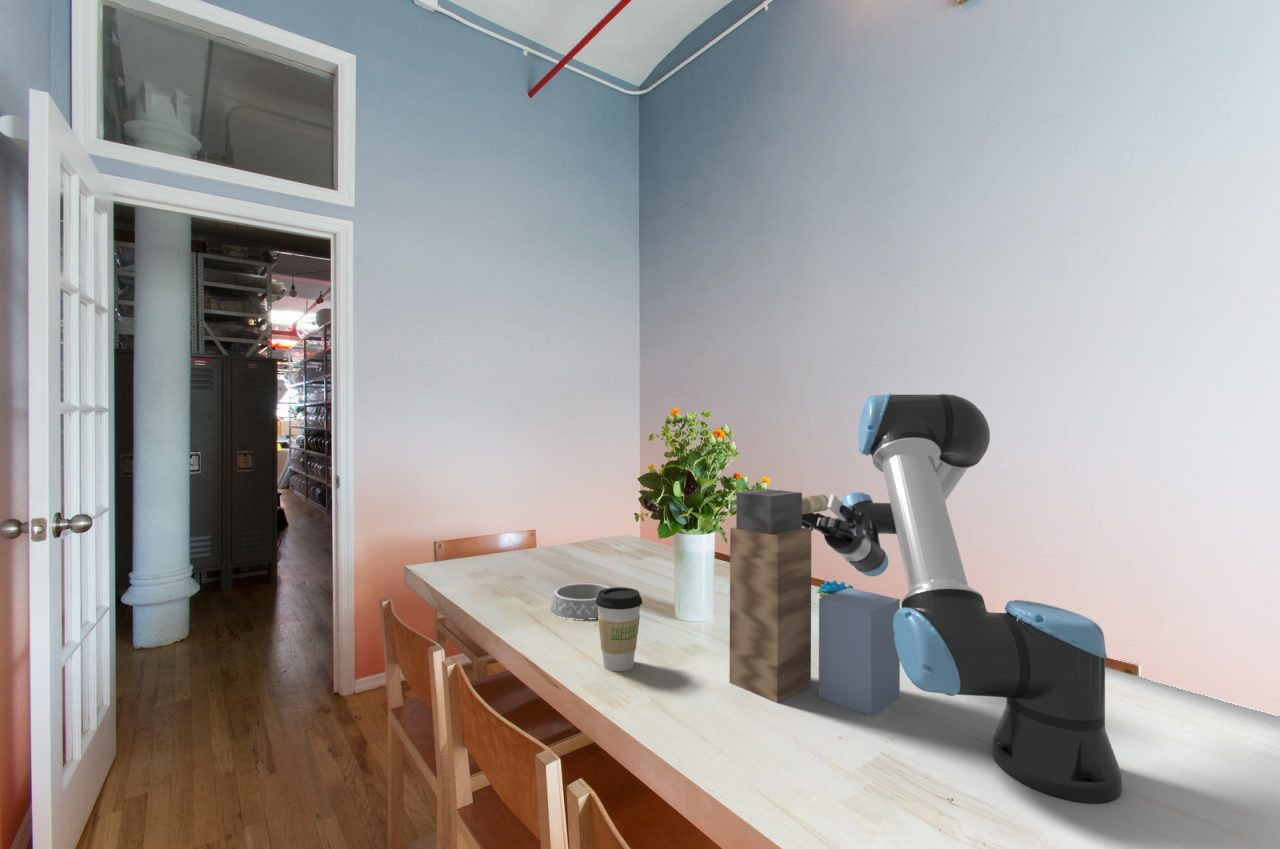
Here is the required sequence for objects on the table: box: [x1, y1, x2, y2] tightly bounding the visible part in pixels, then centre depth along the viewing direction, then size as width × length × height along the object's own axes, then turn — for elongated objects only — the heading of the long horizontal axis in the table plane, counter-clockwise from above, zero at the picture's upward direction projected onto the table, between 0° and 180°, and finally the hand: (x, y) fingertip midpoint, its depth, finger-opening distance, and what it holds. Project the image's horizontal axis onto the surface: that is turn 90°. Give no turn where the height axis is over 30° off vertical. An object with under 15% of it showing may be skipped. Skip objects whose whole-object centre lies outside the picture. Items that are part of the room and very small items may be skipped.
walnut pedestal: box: [728, 526, 812, 704], centre depth 112 cm, size 11×11×30 cm
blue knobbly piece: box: [816, 579, 854, 598], centre depth 162 cm, size 11×6×10 cm
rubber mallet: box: [735, 488, 829, 535], centre depth 116 cm, size 8×24×7 cm, turn 132°
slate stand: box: [818, 587, 901, 717], centre depth 106 cm, size 10×11×18 cm
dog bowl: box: [549, 582, 611, 619], centre depth 157 cm, size 17×18×5 cm
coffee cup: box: [595, 586, 643, 672], centre depth 120 cm, size 10×10×15 cm
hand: (801, 497), depth 119 cm, fingers open, 12 cm apart
